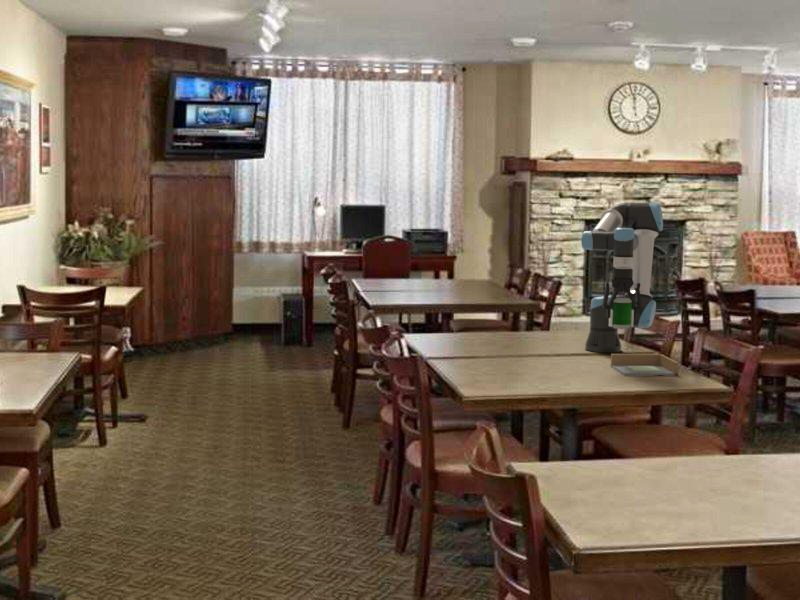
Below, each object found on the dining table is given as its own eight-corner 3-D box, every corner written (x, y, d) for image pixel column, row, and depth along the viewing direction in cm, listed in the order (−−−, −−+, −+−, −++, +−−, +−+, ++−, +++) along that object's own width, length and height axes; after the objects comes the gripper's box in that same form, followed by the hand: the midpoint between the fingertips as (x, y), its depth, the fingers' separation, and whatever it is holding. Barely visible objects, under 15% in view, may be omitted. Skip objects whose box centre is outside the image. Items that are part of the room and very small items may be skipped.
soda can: (630, 329, 410) (631, 298, 408) (610, 328, 411) (611, 298, 410) (630, 327, 417) (631, 296, 416) (611, 326, 419) (612, 296, 417)
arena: (610, 366, 409) (611, 353, 409) (661, 366, 411) (662, 354, 410) (624, 375, 390) (625, 362, 389) (678, 375, 391) (678, 362, 390)
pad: (627, 366, 405) (627, 365, 405) (652, 366, 405) (652, 365, 405) (634, 370, 395) (634, 370, 395) (660, 370, 395) (660, 370, 395)
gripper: (599, 268, 407) (597, 327, 410) (651, 268, 408) (649, 327, 411) (594, 266, 415) (592, 324, 417) (646, 267, 416) (644, 325, 418)
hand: (620, 326), depth 414 cm, fingers closed on soda can, 7 cm apart
